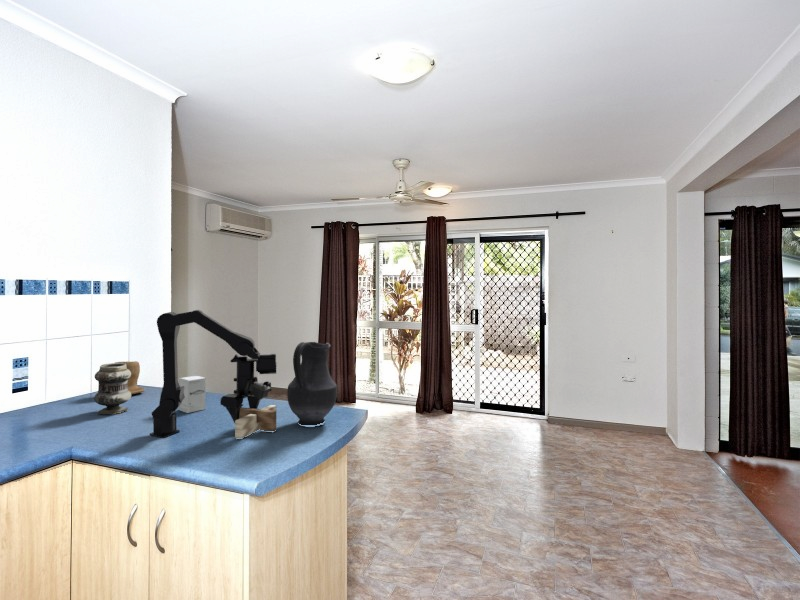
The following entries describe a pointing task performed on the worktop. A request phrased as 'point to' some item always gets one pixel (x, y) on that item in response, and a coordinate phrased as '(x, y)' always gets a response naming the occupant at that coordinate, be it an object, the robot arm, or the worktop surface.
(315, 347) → the pitcher
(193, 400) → the supplement box
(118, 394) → the apothecary jar
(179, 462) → the worktop surface
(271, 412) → the walnut bar
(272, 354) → the robot arm
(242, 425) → the birch rail
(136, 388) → the curved wooden stand
